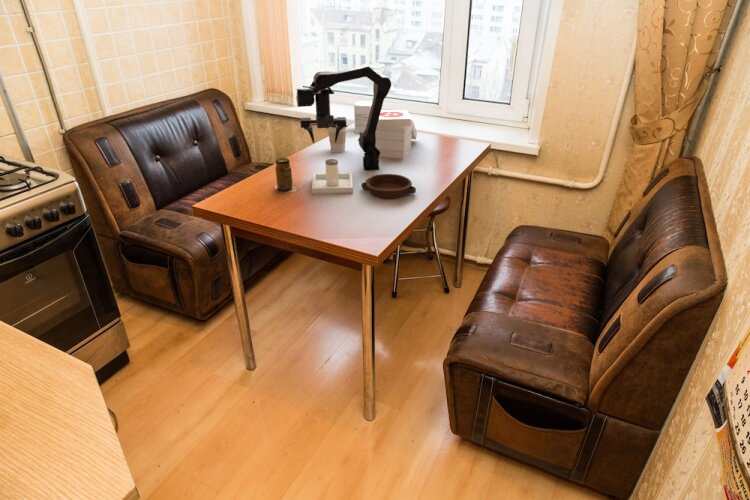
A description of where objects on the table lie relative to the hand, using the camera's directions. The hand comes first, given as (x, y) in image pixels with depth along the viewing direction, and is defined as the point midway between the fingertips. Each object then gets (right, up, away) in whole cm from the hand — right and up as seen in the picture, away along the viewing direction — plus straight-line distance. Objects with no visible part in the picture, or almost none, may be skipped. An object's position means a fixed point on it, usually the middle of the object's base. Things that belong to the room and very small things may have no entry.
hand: (324, 142), depth 203 cm
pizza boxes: (+31, +4, +33) cm, 46 cm away
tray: (+4, -19, -7) cm, 21 cm away
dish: (+27, -23, -12) cm, 37 cm away
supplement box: (+15, +19, +58) cm, 63 cm away
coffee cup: (+3, +3, +31) cm, 31 cm away
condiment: (-15, -21, -10) cm, 27 cm away
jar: (+4, -19, -7) cm, 20 cm away
